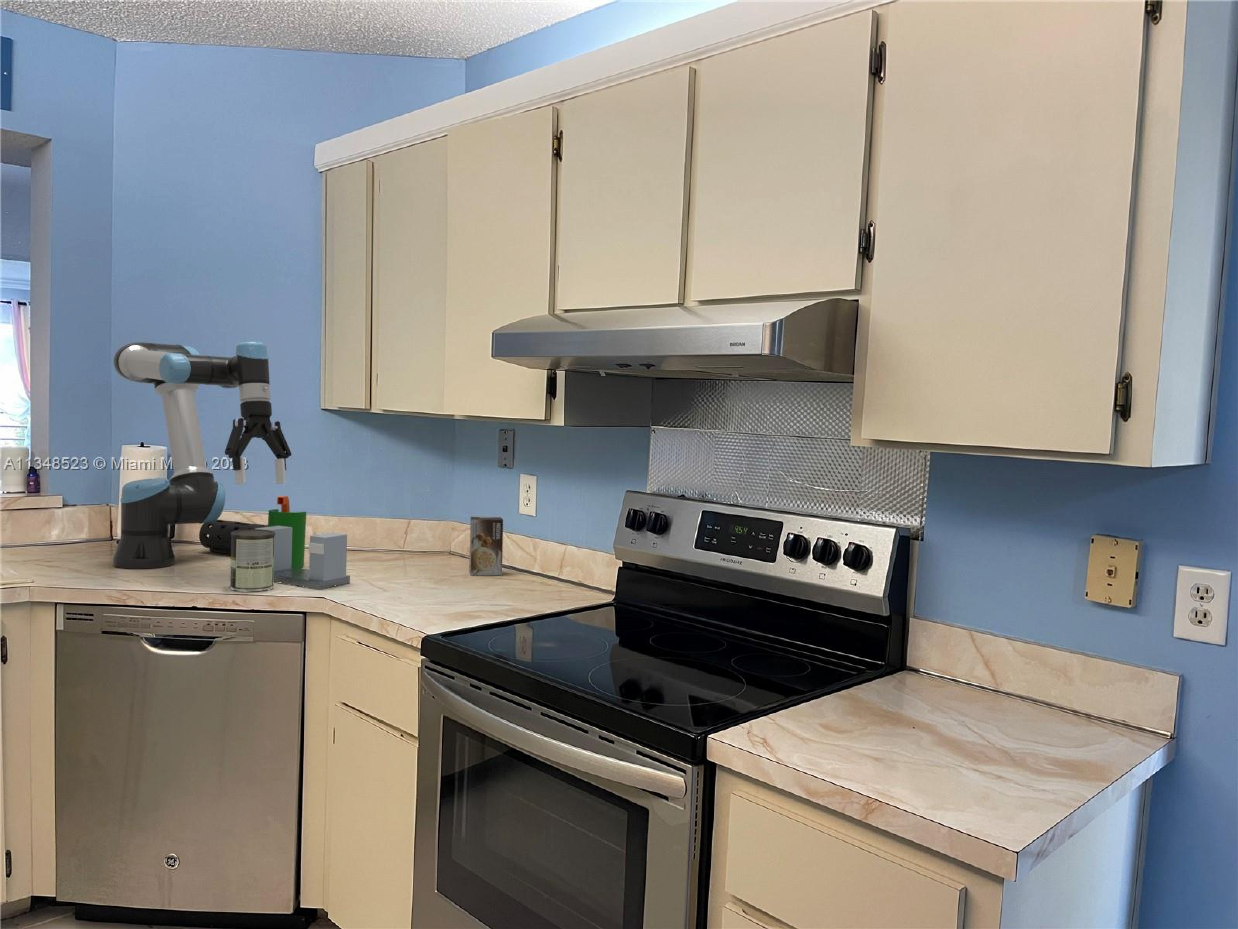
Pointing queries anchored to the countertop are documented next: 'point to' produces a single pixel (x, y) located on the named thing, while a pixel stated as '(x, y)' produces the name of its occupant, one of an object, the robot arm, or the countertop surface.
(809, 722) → the countertop surface
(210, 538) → the muzzle brake
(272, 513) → the green tall piece
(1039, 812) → the countertop surface
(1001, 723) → the countertop surface
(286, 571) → the rail plate
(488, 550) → the coffee box
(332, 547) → the mounted blocks
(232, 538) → the coffee can
